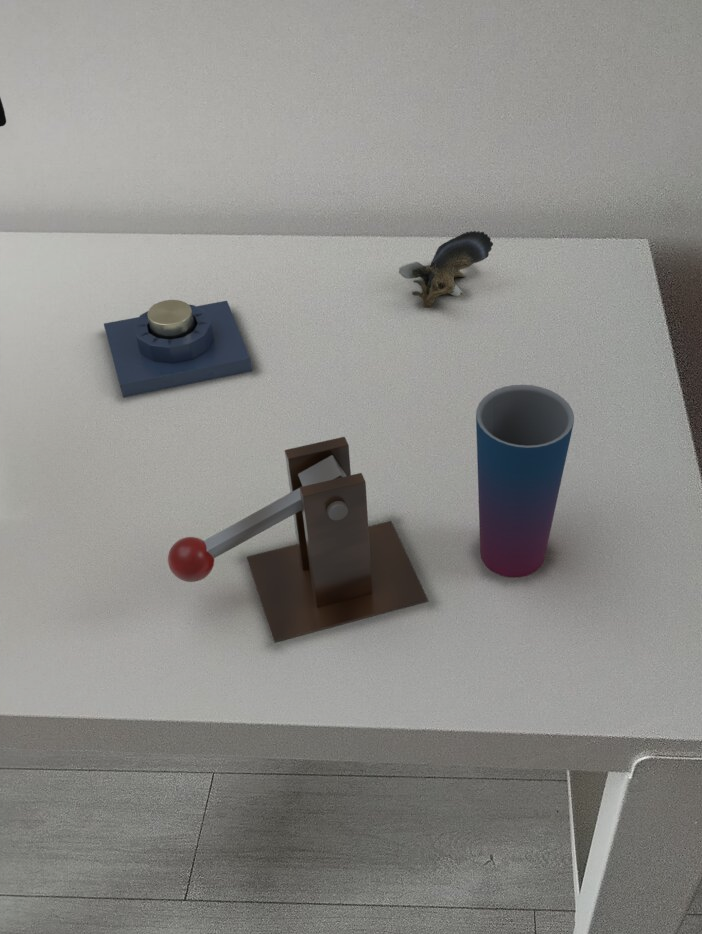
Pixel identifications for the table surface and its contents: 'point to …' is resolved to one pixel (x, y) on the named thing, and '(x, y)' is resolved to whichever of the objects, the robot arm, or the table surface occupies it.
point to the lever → (244, 527)
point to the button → (171, 319)
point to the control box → (177, 351)
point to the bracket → (332, 555)
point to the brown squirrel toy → (448, 265)
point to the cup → (519, 474)
